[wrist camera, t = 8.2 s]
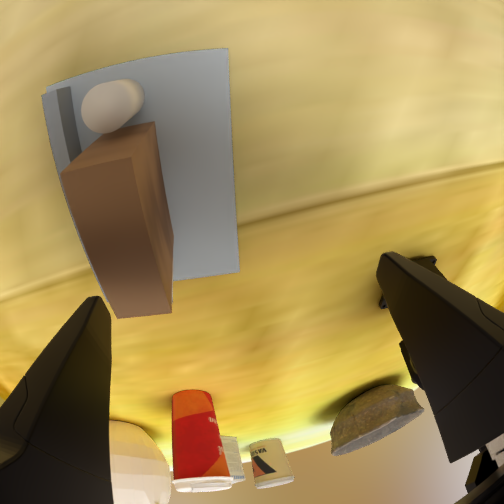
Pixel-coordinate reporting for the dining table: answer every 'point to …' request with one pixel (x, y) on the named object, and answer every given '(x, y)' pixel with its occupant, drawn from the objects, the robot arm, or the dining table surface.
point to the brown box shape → (124, 219)
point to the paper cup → (197, 444)
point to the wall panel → (164, 143)
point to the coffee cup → (270, 463)
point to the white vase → (137, 466)
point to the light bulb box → (233, 458)
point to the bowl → (373, 417)
